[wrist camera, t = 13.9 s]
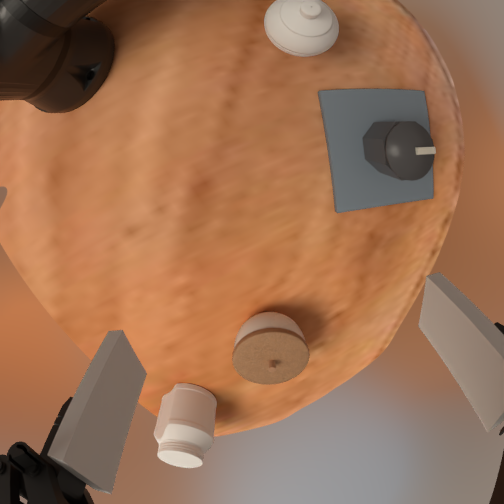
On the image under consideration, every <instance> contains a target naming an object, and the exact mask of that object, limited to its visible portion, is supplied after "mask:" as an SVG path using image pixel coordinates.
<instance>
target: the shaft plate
mask: <svg viewBox="0 0 504 504" xmlns="http://www.w3.org/2000/svg"><path fill="white" fill-rule="evenodd" d="M318 96H319V101H320V107H321V112H322V118H323V123H324V129H325V135H326V142H327V148H328V155H329V162H330V170H331V178H332V186H333V195H334V204H335V211H336V212H337V213H341V212H347V211H353V210H360V209H366V208H372V207H379V206H385V205H392V204H398V203H405V202H412V201H419V200H426V199H433V164H432V167H431V169H430V170H429V172H428V173H427V174H426V175H425V176H424V177H422V178H421V179H418V180H414V181H410V180H403V181H401V180H399V179H396V178H393V177H391V176H388V175H385V174H382V173H379V172H378V171H377V170H376V169H375V168H374V167H373V166H372V165H371V164H370V163H369V162H367V161H366V160H365V155H364V147H363V140H362V138H363V136H364V135H365V134H366V132H367V131H368V129H369V128H370V127H371V125H372V124H373V122H393V121H416V122H417V123H418V124H420V125H421V126H423V127H424V128H425V129H426V130H427V132H428V133H429V135H430V127H429V119H428V112H427V105H426V99H425V93H424V91H417V90H400V89H342V90H324V91H318Z"/></svg>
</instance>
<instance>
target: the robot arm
mask: <svg viewBox="0 0 504 504" xmlns="http://www.w3.org/2000/svg"><path fill="white" fill-rule="evenodd" d="M105 1H106V0H0V100H25V101H26V102H28V103H30V104H32V105H34V106H35V107H36V108H37V109H39V110H41V111H43V112H47V113H65V112H69V111H72V110H74V109H76V108H78V107H80V106H81V105H83V104H84V103H85V102H86V101H88V100H89V99H90V98H91V97H92V96H93V95H94V94H95V93H96V91H97V90H98V89H99V87H100V86H101V85H102V83H103V81H104V80H105V78H106V76H107V74H108V72H109V70H110V67H111V64H112V61H113V56H114V39H113V36H112V33H111V31H110V30H109V28H108V27H107V26H106V25H105V24H103V23H102V22H100V21H98V20H97V19H95V18H92V17H88V16H86V15H87V14H88V13H90V12H91V11H92V10H94V9H95V8H96V7H98V6H99V5H101V4H102V3H103V2H105ZM418 326H419V328H420V329H421V330H422V332H423V333H424V334H425V336H426V337H427V339H428V340H429V341H430V343H431V344H432V346H433V347H434V348H435V350H436V351H437V353H438V354H439V356H440V357H441V358H442V360H443V361H444V363H445V364H446V366H447V367H448V369H449V370H450V372H451V373H452V375H453V376H454V378H455V379H456V381H457V383H458V384H459V386H460V387H461V389H462V390H463V392H464V393H465V395H466V397H467V399H468V400H469V402H470V403H471V405H472V407H473V409H474V410H475V412H476V414H477V415H478V417H479V419H480V421H481V422H482V424H483V426H484V428H485V430H486V431H487V432H489V431H490V430H492V429H493V428H495V427H496V426H497V425H499V424H500V423H501V422H502V421H503V420H504V326H503V325H501V324H499V323H498V322H497V323H495V324H493V323H492V322H491V321H490V320H489V319H488V318H487V317H486V316H485V315H484V314H483V313H482V312H481V311H480V310H479V309H478V308H477V307H476V306H475V305H474V304H473V303H472V302H471V301H470V300H469V299H468V298H467V297H466V296H465V295H464V294H463V293H462V292H461V291H460V290H459V289H458V288H457V287H456V286H454V285H453V284H452V283H451V282H450V281H449V280H448V279H447V278H446V277H445V276H443V275H442V274H441V273H440V272H439V273H435V274H432V275H428V276H426V283H425V290H424V297H423V303H422V309H421V315H420V321H419V325H418ZM146 375H147V373H146V371H145V369H144V368H143V366H142V364H141V363H140V361H139V359H138V357H137V356H136V354H135V352H134V350H133V349H132V347H131V345H130V343H129V341H128V339H127V338H126V336H125V334H124V332H123V330H117V331H109V332H108V333H107V335H106V337H105V339H104V340H103V342H102V344H101V346H100V347H99V349H98V351H97V353H96V355H95V356H94V358H93V360H92V362H91V364H90V366H89V368H88V369H87V371H86V373H85V375H84V377H83V379H82V381H81V383H80V385H79V387H78V389H77V391H76V393H75V395H74V397H70V398H69V399H68V400H67V401H66V402H65V404H64V405H63V406H62V408H61V410H60V412H59V414H58V418H56V420H55V422H54V425H53V427H52V429H51V431H50V433H49V435H48V438H47V440H46V442H45V445H44V447H43V449H42V452H41V453H40V455H39V454H37V453H36V452H35V451H34V450H33V449H32V448H30V447H29V446H28V445H27V444H26V443H24V442H16V443H15V444H13V445H12V446H11V447H10V449H9V450H8V453H7V456H6V455H0V504H24V503H22V502H21V501H20V497H19V496H22V497H23V498H25V499H26V500H27V501H28V502H27V504H94V502H93V500H92V498H91V496H90V494H89V492H88V491H87V489H85V486H86V484H87V485H89V486H90V487H92V488H93V489H95V490H98V491H102V492H105V493H109V494H112V490H113V486H114V482H115V478H116V474H117V470H118V466H119V463H120V459H121V455H122V452H123V448H124V445H125V441H126V438H127V434H128V431H129V428H130V424H131V421H132V418H133V415H134V411H135V408H136V405H137V402H138V399H139V396H140V393H141V390H142V387H143V384H144V381H145V378H146ZM503 433H504V427H503V428H502V429H501V431H500V434H499V435H502V434H503ZM489 504H504V451H503V457H502V461H501V465H500V469H499V473H498V477H497V481H496V485H495V488H494V491H493V494H492V497H491V500H490V503H489Z"/></svg>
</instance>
